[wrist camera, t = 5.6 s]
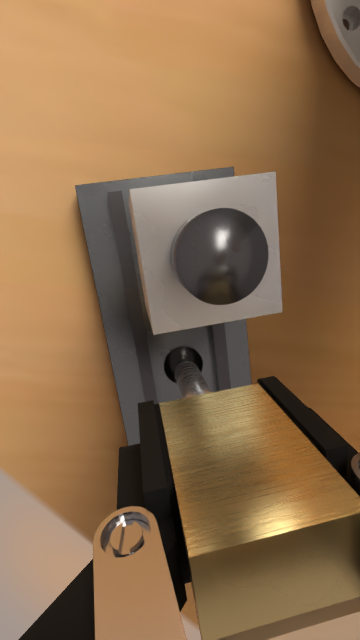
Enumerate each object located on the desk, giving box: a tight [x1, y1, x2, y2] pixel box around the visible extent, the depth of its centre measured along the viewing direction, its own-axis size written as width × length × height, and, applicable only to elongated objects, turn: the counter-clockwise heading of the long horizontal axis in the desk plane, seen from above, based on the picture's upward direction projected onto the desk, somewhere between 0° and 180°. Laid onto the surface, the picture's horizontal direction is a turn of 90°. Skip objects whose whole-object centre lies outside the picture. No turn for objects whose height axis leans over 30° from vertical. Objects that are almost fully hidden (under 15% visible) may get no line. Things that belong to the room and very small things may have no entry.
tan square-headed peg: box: [159, 361, 360, 640], centre depth 11 cm, size 3×3×11 cm
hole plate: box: [75, 167, 283, 446], centre depth 13 cm, size 18×7×10 cm, turn 7°
